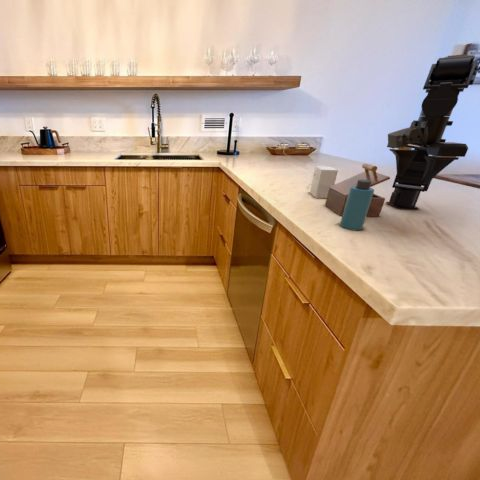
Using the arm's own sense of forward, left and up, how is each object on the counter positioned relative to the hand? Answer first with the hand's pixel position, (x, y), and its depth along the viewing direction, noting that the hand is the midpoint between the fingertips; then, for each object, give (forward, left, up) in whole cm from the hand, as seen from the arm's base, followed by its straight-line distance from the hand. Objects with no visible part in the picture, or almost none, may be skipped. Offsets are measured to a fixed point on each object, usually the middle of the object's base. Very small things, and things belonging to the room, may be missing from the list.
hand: (411, 179), depth 77 cm
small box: (+8, -30, -13) cm, 34 cm away
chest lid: (+6, -12, -4) cm, 14 cm away
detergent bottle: (+13, +2, -13) cm, 19 cm away
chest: (+6, -12, -13) cm, 19 cm away
